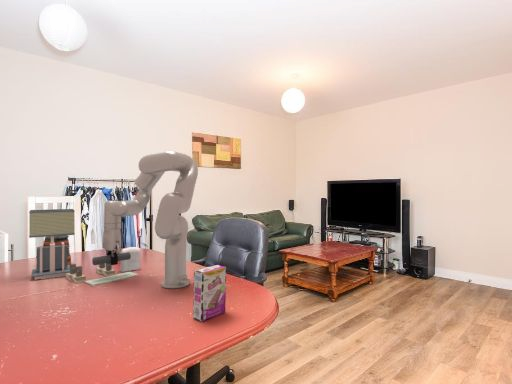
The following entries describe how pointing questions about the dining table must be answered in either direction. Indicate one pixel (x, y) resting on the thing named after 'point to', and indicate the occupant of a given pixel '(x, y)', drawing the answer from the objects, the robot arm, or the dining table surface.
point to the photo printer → (131, 260)
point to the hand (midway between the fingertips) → (112, 263)
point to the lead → (108, 258)
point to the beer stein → (58, 241)
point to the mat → (110, 278)
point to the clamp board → (77, 276)
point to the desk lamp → (52, 256)
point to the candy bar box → (209, 292)
